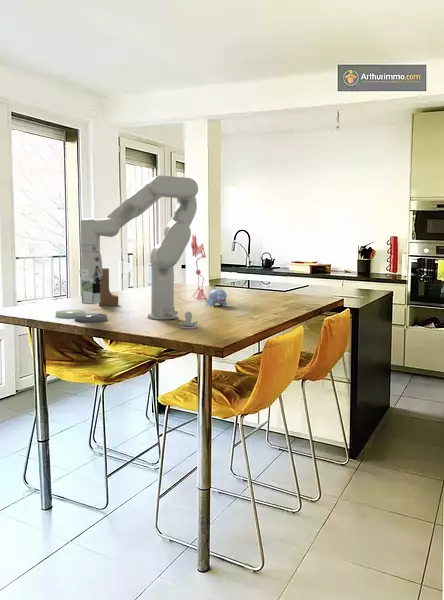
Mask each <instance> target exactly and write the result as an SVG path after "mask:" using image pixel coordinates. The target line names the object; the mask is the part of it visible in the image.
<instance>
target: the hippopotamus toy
mask: <svg viewBox="0 0 444 600" xmlns="http://www.w3.org/2000/svg"><path fill="white" fill-rule="evenodd" d="M212 287H213V289H211V290H210V291H209V292H208V299H207V300H206V303H205V304H204V305H205V306H206V305H208V306H215V305H216V304H218V305H219V304H220V305H219V306H221V305H222V306H221V307H223V306H229V304H228V303H227V297H228V296H227V293H226V291H225V290H224V289H221V288H216V287H215V285H212ZM208 306H207V307H208Z"/></svg>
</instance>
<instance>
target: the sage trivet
mask: <svg viewBox="0 0 444 600" xmlns="http://www.w3.org/2000/svg"><path fill="white" fill-rule="evenodd" d="M82 313H86V312H85V310H83V309H82V310H80V309H62V310H56V311H55V317H56V318H61V319H75V315H76V314H82Z"/></svg>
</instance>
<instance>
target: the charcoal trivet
mask: <svg viewBox="0 0 444 600" xmlns="http://www.w3.org/2000/svg"><path fill="white" fill-rule="evenodd" d="M74 321H75V322H78V323H84V324H85V323H86V324H87V323H89V324H91V323H92V324H93V323H102V322H106V321H108V314H105V313H101V312H100V313H97V312H93V313H92V312H87V313H86V312H85V313H82V314H76V315H75V318H74Z"/></svg>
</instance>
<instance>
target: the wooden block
mask: <svg viewBox="0 0 444 600" xmlns="http://www.w3.org/2000/svg"><path fill="white" fill-rule="evenodd" d="M102 274H103V276H102V279H101V283H100V303H98V305H99V306H100V307H118V306H119V296H118V295H117V294H113V293H111V291H110V269H109V268H108V267H107V268H106V267H104V268H103V267H102Z"/></svg>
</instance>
